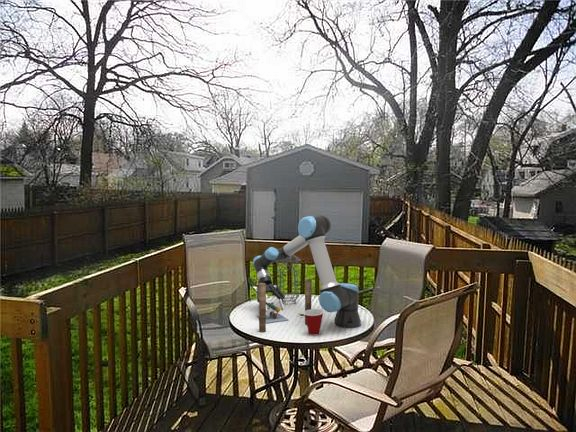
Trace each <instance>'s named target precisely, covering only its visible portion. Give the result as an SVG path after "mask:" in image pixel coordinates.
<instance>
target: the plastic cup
mask: <svg viewBox="0 0 576 432" xmlns="http://www.w3.org/2000/svg"><path fill="white" fill-rule="evenodd" d="M324 312H325V310H324V309H320V308H311V310H307V311H305V310H304V311H303V315H304V318H305V317H306V321H307V325H306V326H307V331H308V334H309V335H311V336H319V334H320V332H321V327H322V321H323V315H324Z"/></svg>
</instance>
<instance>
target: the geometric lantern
mask: <svg viewBox="0 0 576 432" xmlns="http://www.w3.org/2000/svg"><path fill="white" fill-rule="evenodd" d="M292 259H295V260H292ZM300 261H302V259H301V258H299V257H298V256H296V255H295V253H294V254H293V255H292V256H291V258H290V259H287V260H281V261H276V262H275V263H276V265H277V266H276V267H278V268H277V283H278V286H279V288H280V290H281V291H282V293H283V294H284V295H291V296H289V297H285V298H284V299H283V302H284V304H283V305H287V302H293V303H290V305H295V304H296V303H297V300H298V298H300V289H299V279H298V270H297V265H299V263H300ZM280 263H282V265H281V266H280ZM294 264H295V266H293V265H294ZM284 265H285V266H284ZM283 266H284V269H283ZM287 267H289V268H287ZM287 270H291V271H293V283H294V285H293V286H294V292H289V293H285V287H284V286H285V285H284V284H285V283H284V279H282V275H284V273H287ZM276 292H277V291H276ZM277 293H278V292H277ZM287 299H288V300H287ZM289 299H290V300H289Z"/></svg>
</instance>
